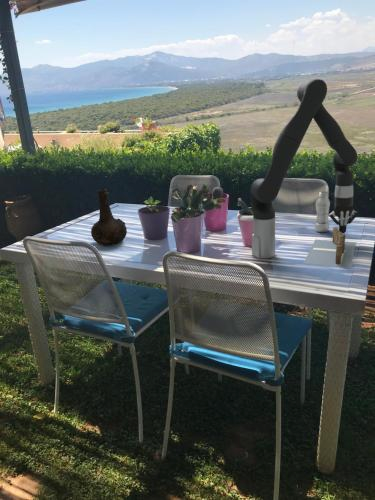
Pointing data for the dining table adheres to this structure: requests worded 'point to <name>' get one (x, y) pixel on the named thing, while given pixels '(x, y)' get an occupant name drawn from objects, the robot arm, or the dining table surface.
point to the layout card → (330, 254)
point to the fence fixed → (340, 249)
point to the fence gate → (337, 236)
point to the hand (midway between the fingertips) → (342, 232)
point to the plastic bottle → (322, 213)
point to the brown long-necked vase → (107, 224)
